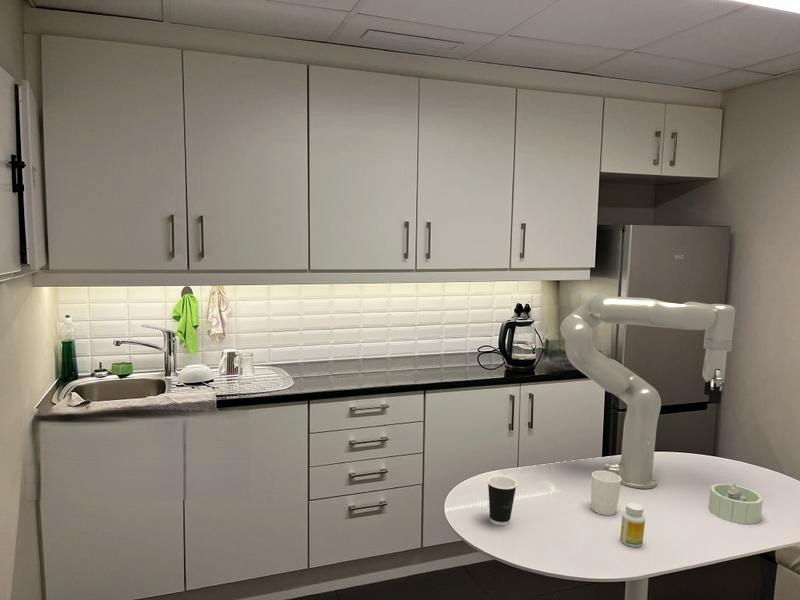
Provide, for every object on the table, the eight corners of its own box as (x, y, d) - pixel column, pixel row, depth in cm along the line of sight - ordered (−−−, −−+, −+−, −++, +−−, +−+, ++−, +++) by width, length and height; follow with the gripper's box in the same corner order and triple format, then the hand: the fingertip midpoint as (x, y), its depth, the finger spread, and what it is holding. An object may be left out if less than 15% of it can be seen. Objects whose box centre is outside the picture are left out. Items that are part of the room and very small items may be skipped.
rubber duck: (717, 506, 172) (720, 479, 171) (736, 504, 174) (739, 478, 173) (731, 514, 167) (735, 487, 166) (751, 513, 168) (754, 486, 168)
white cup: (619, 507, 171) (622, 474, 170) (617, 519, 164) (620, 484, 163) (590, 501, 174) (593, 468, 173) (587, 512, 167) (590, 478, 166)
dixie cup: (512, 530, 155) (515, 490, 154) (482, 525, 157) (484, 485, 156) (516, 517, 162) (519, 478, 161) (487, 512, 165) (489, 473, 163)
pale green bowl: (712, 518, 166) (714, 497, 166) (706, 500, 178) (708, 480, 178) (764, 527, 162) (766, 506, 162) (754, 508, 174) (756, 488, 173)
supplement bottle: (615, 539, 153) (618, 503, 152) (630, 535, 155) (634, 499, 154) (631, 549, 148) (635, 512, 147) (647, 545, 150) (650, 509, 149)
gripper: (700, 338, 192) (695, 390, 194) (707, 348, 176) (702, 404, 178) (726, 341, 190) (720, 393, 192) (736, 350, 174) (730, 408, 176)
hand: (711, 398), depth 185 cm, fingers open, 9 cm apart
